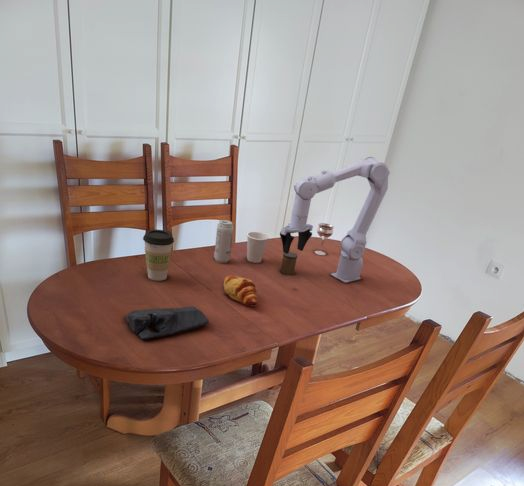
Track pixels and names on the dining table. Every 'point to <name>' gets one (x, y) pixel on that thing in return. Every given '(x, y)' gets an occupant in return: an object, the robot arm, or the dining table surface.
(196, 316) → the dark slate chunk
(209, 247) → the dining table surface
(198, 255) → the dining table surface
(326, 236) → the wineglass
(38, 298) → the dining table surface
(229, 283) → the croissant
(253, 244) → the dixie cup
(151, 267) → the coffee cup
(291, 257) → the tea tin
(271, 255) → the dining table surface
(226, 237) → the energy drink can
